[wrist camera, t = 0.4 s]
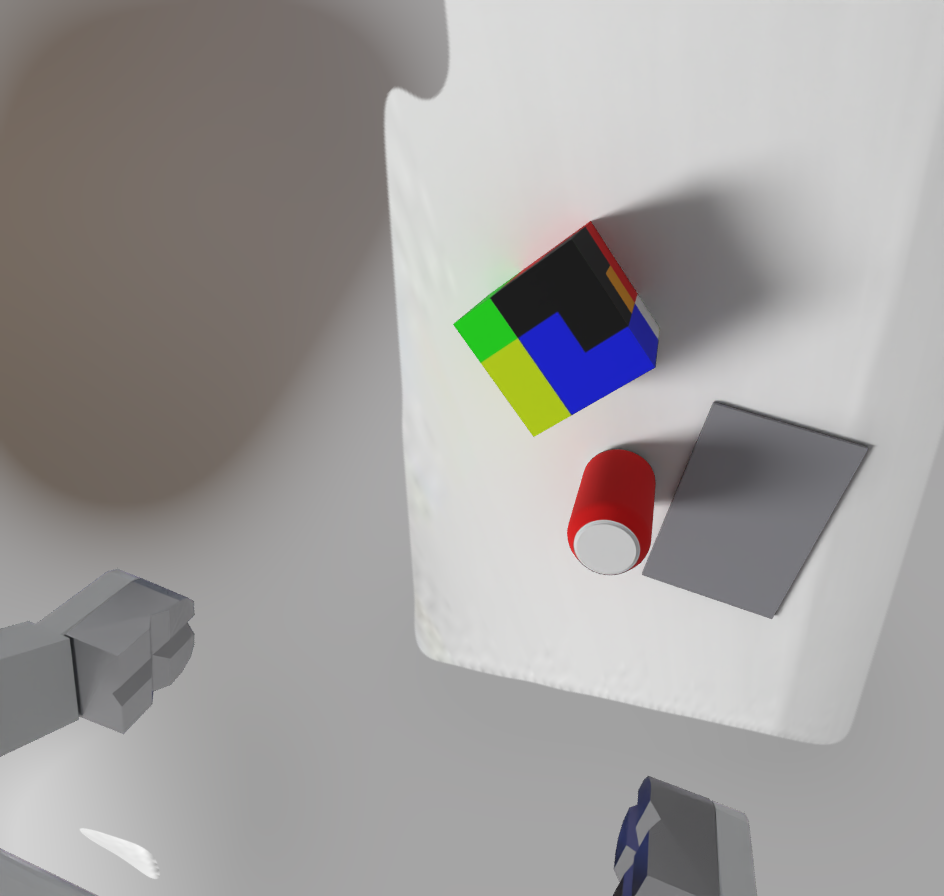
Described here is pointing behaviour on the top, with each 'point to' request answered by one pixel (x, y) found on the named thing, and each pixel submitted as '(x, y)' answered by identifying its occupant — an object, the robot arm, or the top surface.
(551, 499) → the top surface
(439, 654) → the top surface
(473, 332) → the puzzle toy
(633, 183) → the top surface
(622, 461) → the beverage can
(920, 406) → the top surface
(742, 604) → the mat
